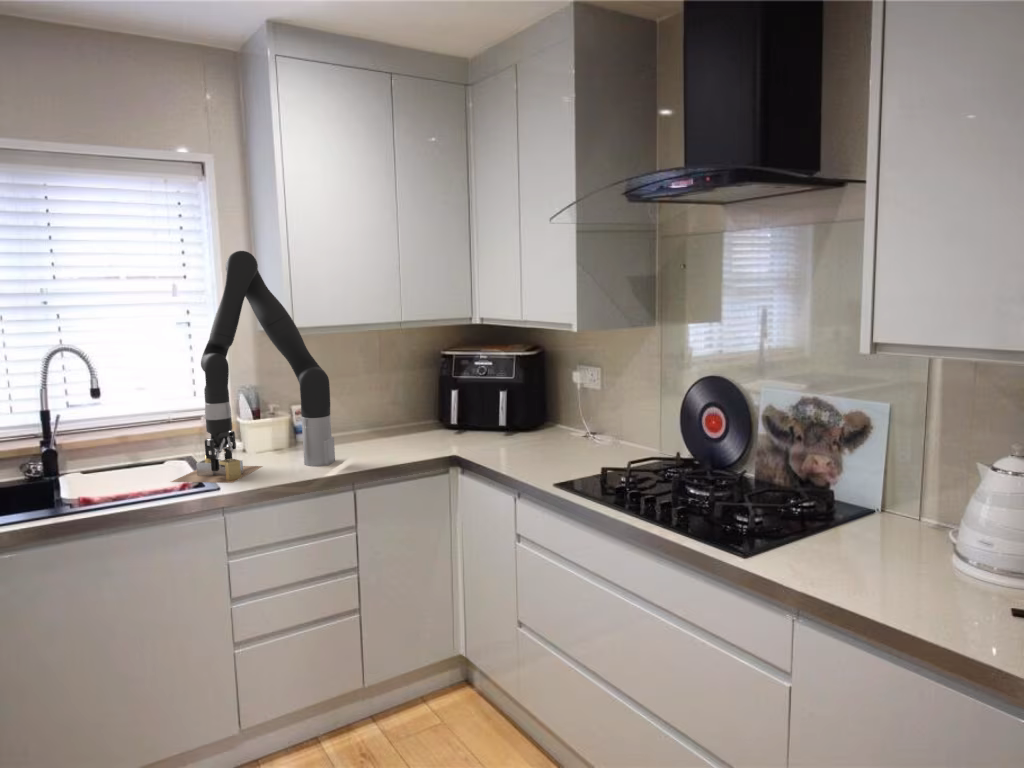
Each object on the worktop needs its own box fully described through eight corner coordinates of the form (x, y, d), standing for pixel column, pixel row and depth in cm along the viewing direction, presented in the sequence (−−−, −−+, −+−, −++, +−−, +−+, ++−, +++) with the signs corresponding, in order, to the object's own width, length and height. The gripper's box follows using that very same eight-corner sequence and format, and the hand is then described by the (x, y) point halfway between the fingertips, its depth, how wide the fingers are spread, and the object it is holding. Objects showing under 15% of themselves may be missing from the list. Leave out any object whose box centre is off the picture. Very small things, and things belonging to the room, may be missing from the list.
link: (245, 471, 230) (244, 459, 229) (236, 476, 225) (236, 463, 224) (206, 471, 231) (205, 459, 231) (197, 475, 226) (196, 463, 226)
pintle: (214, 472, 229) (212, 454, 229) (210, 474, 227) (209, 455, 227) (208, 472, 230) (206, 454, 229) (204, 474, 228) (203, 455, 227)
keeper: (220, 478, 222) (219, 461, 221) (232, 475, 225) (230, 458, 224) (229, 480, 219) (228, 462, 218) (241, 477, 222) (239, 460, 222)
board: (263, 469, 237) (263, 466, 237) (232, 486, 217) (232, 482, 217) (206, 469, 239) (205, 465, 239) (170, 485, 220) (170, 481, 220)
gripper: (217, 420, 218) (221, 473, 220) (241, 412, 232) (244, 462, 234) (194, 420, 219) (198, 473, 221) (219, 412, 233) (222, 462, 235)
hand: (222, 467), depth 228 cm, fingers open, 8 cm apart
